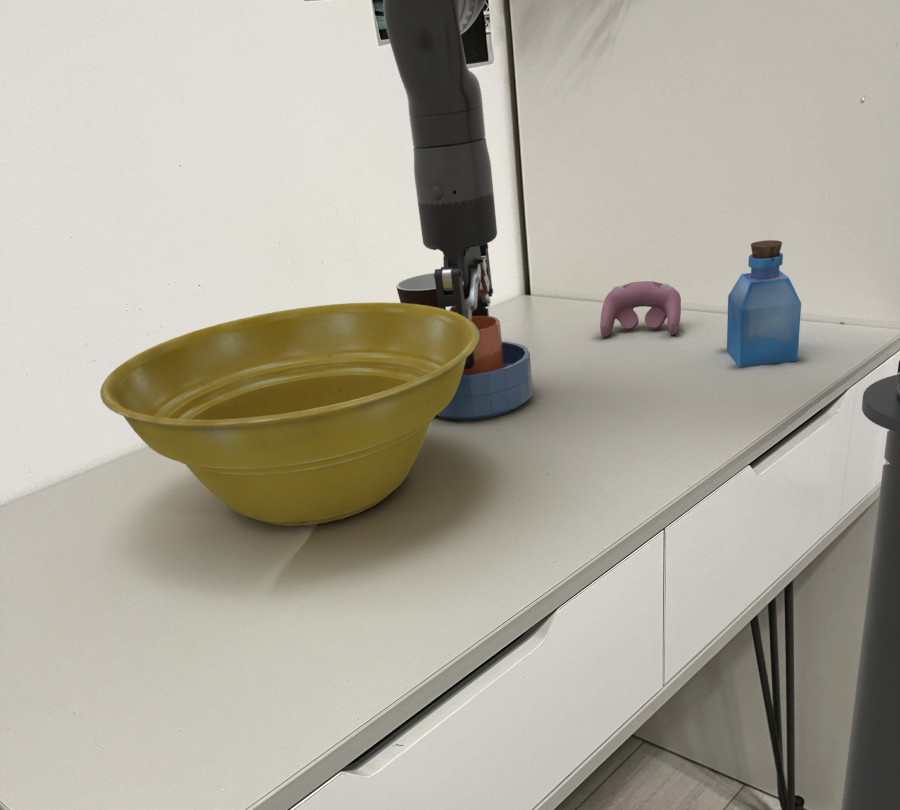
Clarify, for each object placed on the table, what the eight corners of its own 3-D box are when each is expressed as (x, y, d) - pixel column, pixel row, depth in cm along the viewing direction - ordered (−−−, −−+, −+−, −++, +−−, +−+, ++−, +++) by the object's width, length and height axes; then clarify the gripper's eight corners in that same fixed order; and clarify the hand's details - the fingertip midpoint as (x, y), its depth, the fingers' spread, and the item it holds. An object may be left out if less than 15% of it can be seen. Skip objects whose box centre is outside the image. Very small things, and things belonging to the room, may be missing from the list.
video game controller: (681, 340, 120) (684, 282, 119) (678, 333, 115) (681, 274, 115) (603, 342, 123) (605, 286, 122) (597, 335, 118) (599, 278, 118)
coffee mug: (466, 348, 123) (457, 268, 118) (485, 365, 115) (476, 281, 110) (378, 365, 121) (365, 285, 116) (392, 384, 114) (379, 299, 108)
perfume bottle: (781, 344, 109) (788, 234, 103) (797, 360, 103) (805, 245, 97) (726, 350, 109) (729, 241, 103) (739, 367, 104) (743, 253, 98)
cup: (510, 386, 106) (504, 314, 102) (500, 406, 100) (492, 331, 96) (455, 388, 107) (446, 317, 103) (441, 408, 102) (432, 334, 98)
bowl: (540, 382, 108) (537, 338, 105) (522, 421, 98) (518, 373, 95) (438, 386, 111) (432, 343, 108) (411, 424, 101) (404, 378, 98)
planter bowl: (568, 472, 85) (558, 322, 78) (263, 626, 69) (217, 452, 62) (358, 408, 107) (336, 287, 101) (88, 512, 91) (41, 376, 84)
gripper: (477, 202, 87) (494, 375, 95) (505, 177, 98) (519, 333, 106) (398, 209, 88) (422, 378, 97) (436, 184, 100) (454, 337, 108)
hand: (473, 355), depth 102 cm, fingers open, 8 cm apart
